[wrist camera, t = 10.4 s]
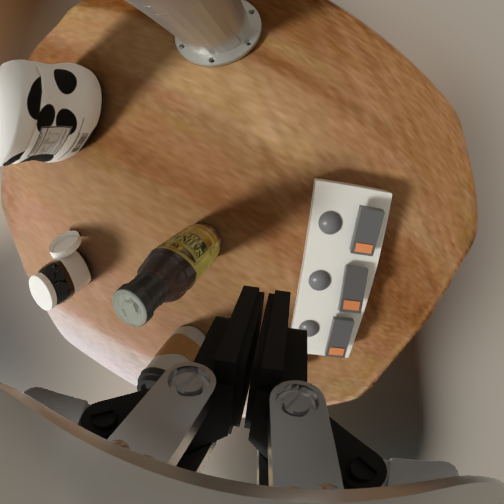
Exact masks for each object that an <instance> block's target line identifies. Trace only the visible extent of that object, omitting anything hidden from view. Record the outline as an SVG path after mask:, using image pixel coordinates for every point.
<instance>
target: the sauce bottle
mask: <svg viewBox="0 0 504 504" xmlns="http://www.w3.org/2000/svg"><path fill="white" fill-rule="evenodd" d="M221 245H222V243H221V238H220V236H219V234H218V232H217V231H216V230H215V229H214V228H213V227H211V226H210V225H207V224H203V223H202V224H194V225H190V226H188V227H187V228H185V229H183V230H182V231H180V232H179V233H177V234H176V235H174V236H173V237H171V238H170V239H168V240H167V241H165V242H164V243H162V244H161V245H159V246H158V247H157V248H155V249H153V250H152V251H151V253H150V254H149V255H148V257H147V258H146V259H145V261H144V262H143V263H142V265H141V266H140V268H139V269H138V273H137V276H136V277H135V278H134V279H133V280H132V281H130V282H129V283H127V284H123V285H122V286H121V287H120V288H119V289H118V290H117V291H116V292H115V293H114V295H113V299H112V302H113V307H114V309H115V312H116V313H117V315H118V316H119V317H120V318H121V320H123V321H124V322H125V323H127V324H129V325H131V326H134V327H140V326H142V325H144V324H145V323H146V322H147V321H149V320H150V319H151V318H152V316H153V313H154V311H155V309H156V308H157V307H158V306H159V305H161V304H162V303H166V302H167V303H168V302H173V301H175V300H178V299H179V298H181V297H182V296H183V295H184V294H185V292H186V291H187V290H189V289H190V288H191V287H192V286H193V285H194V284H195V282H196V281H197V280H198V279H199V278H200V277H201V275H202V274H203V273H204V272H205V271H206V270H207V269H208V267H209V266H210V265H211V264H212V263H213V262H214V260H215V259H216V258H217V256H218V254H219V252H220V250H221Z"/></svg>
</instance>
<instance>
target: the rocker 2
mask: <svg viewBox="0 0 504 504" xmlns="http://www.w3.org/2000/svg"><path fill="white" fill-rule="evenodd" d="M384 214H385V212H384V210H383V209H381V208H375V207H370V206H364V205H359V210H358V214H357V219H356V223H355V227H354V232H353V236H352V240H351V244H350V248H349V249H350V253H353V254H360V255H366V256H373V254H374V251H375V247H376V244H377V240H378V237H379V233H380V230H381V226H382V222H383V218H384Z"/></svg>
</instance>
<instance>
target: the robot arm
mask: <svg viewBox="0 0 504 504" xmlns="http://www.w3.org/2000/svg"><path fill="white" fill-rule="evenodd" d="M125 1H127V2H128V3H130V4H131V5H133V6H134V7H136V8H137V9H139V10H140V11H142V12H143V13H144V14H146V15H147V16H149V17H150V18H151V19H153V20H154V21H156V22H157V23H158V24H160V25H161V26H162V27H164V28H165V29H166V30H168V31H169V32H170V33H171V34H173V35H174V36H175V44H176V47H177V49H178V51H179V52H180V54H181V55H182V56H183V57H184V58H186V59H187V60H189V61H190V62H192V63H194V64H197V65H199V66H205V67H217V66H224V65H227V64H230V63H233V62H235V61H237V60H239V59H241V58H242V57H244V56H245V55H247V54H248V53H249V52H250V51H251V50H252V49H253V48H254V46H255V45H256V44H257V42H258V40H259V38H260V36H261V32H262V22H261V18H260V15H259V13H258V11H257V10H256V9H255V7H254V6H253V5H251V4H250V3H249V2H247V1H245V0H125ZM252 13H253V14H252ZM248 44H250V45H248ZM183 47H184V48H183ZM212 61H214V62H213V63H212ZM263 301H264V292H259V288H258V287H251V286H244V287H243V289H242V291H241V294H240V296H239V299H238V301H237V304H236V306H235V308H234V311H233V313H232V316H231V318H230V319H229V318H223V317H218V316H217V317H215V319H214V321H213V323H212V325H211V327H210V329H209V331H208V333H207V335H206V337H205V339H204V341H203V343H202V345H201V347H200V349H199V351H198V353H197V355H196V357H195V359H194V361H193V362H183V363H178V364H175V365H173V366H171V367H170V368H169V369H167V370H166V371H165V372H164V373H163V375H162V376H161V377H160V378H159V379H158V381H157V382H156V383H155V384H154V385H153V386H152V388H149V389H145V390H142V391H138V392H135V393H131V394H127V395H124V396H120V397H116V398H112V399H108V400H104V401H100V402H97V403H94V404H92V405H90V404H88V402H87V401H86V400H82V399H78V398H74V397H71V396H67V395H63V394H60V393H57V392H54V391H50V390H47V389H44V388H41V387H33V388H30V389H28V390H26V391H25V392H24V393H23V392H21V391H19V390H17V389H16V388H13V387H11V386H9V385H6V384H3V383H0V504H504V483H503V482H501V481H500V480H497V479H494V478H490V477H483V476H470V475H467V476H459V475H458V471H457V469H456V468H455V466H453V465H452V464H451V463H449V462H444V461H421V460H408V459H398V458H391V459H390V460H383V459H382V458H381V457H380V456H379V455H378V454H377V453H376V452H374V451H373V450H372V449H370V448H369V447H368V446H366V445H365V444H363V443H362V442H361V441H360V440H358V439H357V438H356V437H354V436H353V435H352V434H350V433H349V432H348V431H347V430H345V429H344V428H343V427H341V426H340V425H339V424H338V423H337V422H335V421H334V420H333V419H332V418H330V417H329V415H328V411H327V406H326V401H325V398H324V396H323V394H322V392H321V391H320V390H319V389H318V388H317V387H315V386H314V385H312V384H310V383H307V330H302V329H294V328H288V317H289V305H290V292H286V291H278V290H276V291H275V294H271V293H269V296H268V300H267V304H266V309H265V313H264V318H263V322H262V326H261V318H262V309H263ZM260 326H261V331H260ZM259 334H260V335H259ZM249 385H250V387H249ZM248 389H249V395H248V403H247V411H246V419H245V426H244V427H245V428H249V429H250V433H249V441H250V442H251V443H252V444H253V445H254V446H255V447H256V448H257V450H258V451H257V484H251V483H245V482H239V481H233V480H228V479H223V478H219V477H214V476H209V475H205V474H202V473H201V471H202V469H203V467H204V466H205V464H206V462H207V460H208V458H209V456H210V454H211V453H212V451H213V449H214V447H215V445H216V442H217V440H219V439H221V438H223V437H225V436H227V435H228V434H231V432H232V428H233V426H238V427H239V426H240V422H241V418H242V414H243V410H244V406H245V402H246V398H247V394H248Z"/></svg>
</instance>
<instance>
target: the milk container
mask: <svg viewBox="0 0 504 504" xmlns="http://www.w3.org/2000/svg"><path fill="white" fill-rule="evenodd" d="M101 107H102V92H101V87H100V84H99V81H98V80H97V78H96V76H95V75H94V74H93V72H91V71H90V70H89V69H87V68H85V67H83V66H81V65H79V64H75V63H59V64H45V63H40V62H35V61H27V60H11V61H8V62H5V63H3V64H2V65H1V66H0V166H6V165H10V164H17V163H21V162H25V161H30V160H37V161H42V162H57V161H61V160H64V159H67V158H69V157H71V156H73V155H75V154H77V153H78V152H79V151H80V150H81V149H82V148H83V147H84V146H85V145H86V144H87V143H88V142H89V140H90V138H91V137H92V135H93V134H94V132H95V130H96V127H97V124H98V121H99V118H100V114H101Z"/></svg>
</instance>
